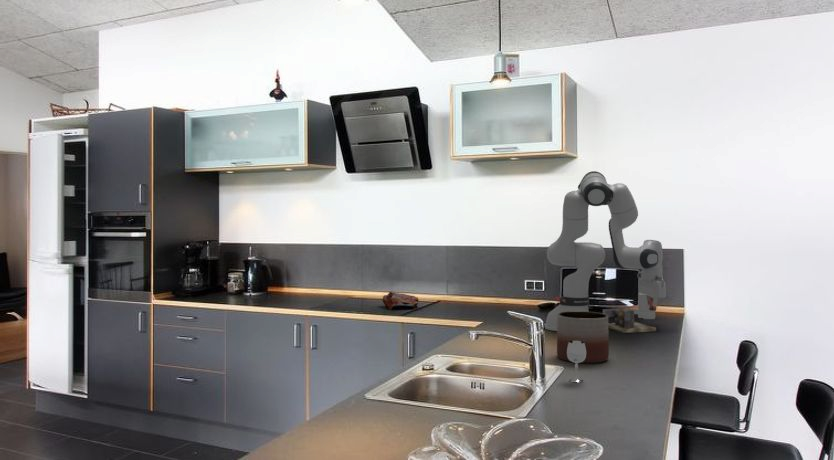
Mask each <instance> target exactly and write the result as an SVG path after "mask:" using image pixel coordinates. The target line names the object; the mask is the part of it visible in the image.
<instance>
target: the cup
mask: <svg viewBox="0 0 834 460" xmlns="http://www.w3.org/2000/svg"><path fill="white" fill-rule="evenodd" d="M637 296H638V297H637V298H638V299H637V300H638V301H637V303H638V304H637V307H638V308H637V310H649V305H647V300H646V297H645V294H641V293H640V292H639V293H637ZM651 298H653V296H651ZM637 317H638V319H641V318H643V319H642V320H655V319H656V313H655V314H637Z"/></svg>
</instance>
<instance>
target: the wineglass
mask: <svg viewBox="0 0 834 460" xmlns="http://www.w3.org/2000/svg"><path fill="white" fill-rule="evenodd" d="M567 357H568V359H569V360H570V361H571V362H570V363H573V364H574V363H575V364H574V369H575V377H574V378H571V379H569V380H568V382H570V381H571V382H570V383H572V382H577V383H576V384H581V383H580V382H583V381H584V380H583V379H579V377H578V370H579V364H581V363H580V362H583V361H584V360H585V358H586V347H585V343H584V342H582V341H569V343H568V347H567ZM583 383H584V382H583Z"/></svg>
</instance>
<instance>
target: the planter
mask: <svg viewBox="0 0 834 460" xmlns="http://www.w3.org/2000/svg"><path fill="white" fill-rule="evenodd" d="M608 323H609V317H608V315H606V314H603V312H597V311H595V312H594V311H589V312H588V311H567V312H560V313H558V315H557V331H556V334H557V335H556V356H557V357H558V358H560V359H561V360H563V361H566V362H570V363H572V362H571V361H570V360H569V359H568V357H567V347H568V343H569V341H582V342H584V343H585V347H586V358H585V360H584V361H583V362H580V363H579V364H598V363H603V362H605V361H607V360H608V359H609V355H610V354H609V353H610V351H609V350H610V349H609V347H610V346H609V345H610V343H609V339H610V338H609V328H608Z"/></svg>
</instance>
